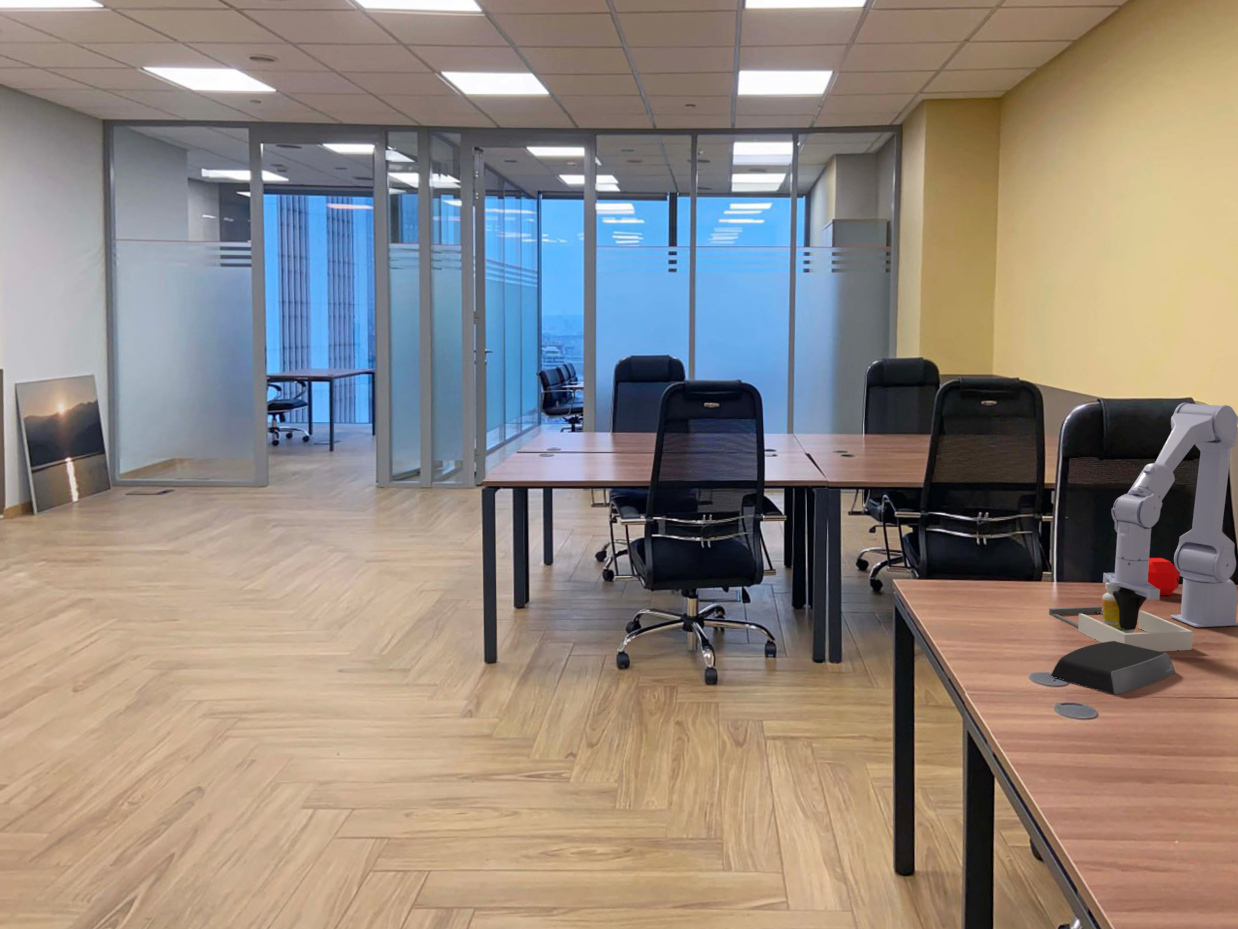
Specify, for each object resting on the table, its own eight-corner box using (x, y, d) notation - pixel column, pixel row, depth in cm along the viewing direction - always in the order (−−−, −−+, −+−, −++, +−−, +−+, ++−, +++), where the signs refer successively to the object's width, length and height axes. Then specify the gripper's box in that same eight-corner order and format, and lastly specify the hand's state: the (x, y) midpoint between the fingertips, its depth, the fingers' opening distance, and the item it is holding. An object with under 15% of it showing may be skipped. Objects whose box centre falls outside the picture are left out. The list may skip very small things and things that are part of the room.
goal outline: (1099, 611, 228) (1099, 606, 227) (1129, 625, 217) (1129, 619, 217) (1049, 614, 226) (1049, 608, 226) (1077, 627, 216) (1077, 621, 216)
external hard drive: (1179, 676, 188) (1181, 652, 187) (1119, 699, 176) (1120, 674, 176) (1107, 657, 198) (1108, 635, 198) (1045, 678, 187) (1047, 655, 186)
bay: (1141, 628, 215) (1142, 610, 215) (1191, 649, 201) (1193, 631, 201) (1078, 631, 213) (1078, 613, 213) (1123, 653, 199) (1124, 634, 198)
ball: (1182, 598, 239) (1184, 563, 238) (1145, 598, 239) (1147, 563, 238) (1165, 589, 247) (1167, 556, 246) (1129, 589, 247) (1131, 556, 246)
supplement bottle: (1114, 629, 215) (1112, 580, 215) (1140, 632, 211) (1137, 582, 211) (1097, 632, 212) (1095, 583, 212) (1123, 635, 208) (1120, 585, 208)
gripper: (1090, 551, 213) (1086, 619, 215) (1136, 566, 199) (1131, 639, 200) (1123, 550, 214) (1119, 618, 216) (1172, 565, 200) (1166, 638, 202)
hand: (1127, 628), depth 208 cm, fingers closed, pressing on supplement bottle
